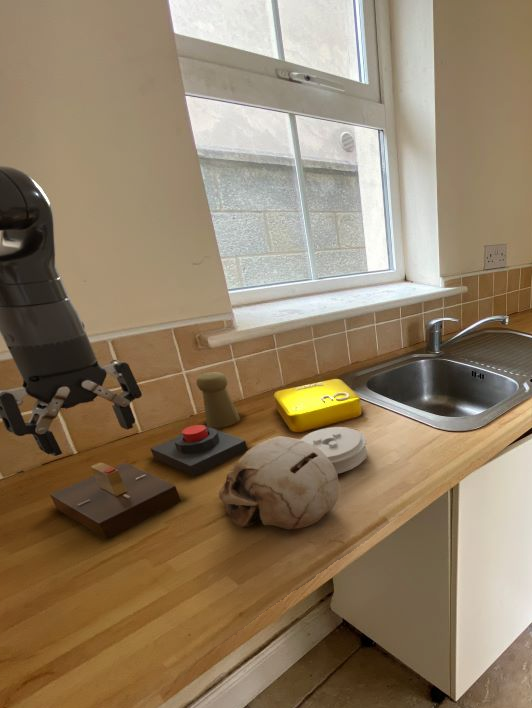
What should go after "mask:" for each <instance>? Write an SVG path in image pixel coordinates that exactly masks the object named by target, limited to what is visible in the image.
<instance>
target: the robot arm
mask: <svg viewBox="0 0 532 708" xmlns="http://www.w3.org/2000/svg"><path fill="white" fill-rule="evenodd" d="M54 219H55V218H54V212H53V207H52V204H51V202H50V200H49V197H48V195H47V194H46V193H45V191H44V190H43V188H42V187H41V186H40V185H39V184H38V182H37V181H35V180H34V179H33V177H31V176H30V175H28V174H26V173H25V172H24V171H22V170H20V169H17V168H15V167H11V166H5V165H0V235H1V236H0V335H1V337H2V339H3V341H4V343H5V346H6V347H7V349H8V351H9V353H10V355H11V357H12V359H13V361H14V364H15V365H16V368H17V370H18V372H19V373H20V376H21V378H22V385H21V386H20V387H15V388H11V389H6V390H4V389H0V418H1V420H2V423H3V425H4V427H5V429H6V431H8V432H9V433H12V434H14V435H15V436H17V437H23V436H26V435H32V437H33V438H34V441H35V442H36V444H37V446H38V448H39V450H40V451H42V452H43V453H45V454H47V455H51V456H54V457H59V456H60V455H63V452H62V449H61V447H60V445H59V443H58V441H57V439H56V437H55V435H54V434H53V433H54V432H53V431H51V430H50V427H51V425H52V423H53V421H54V419H56V418H57V417H58V415H59V413H60V411H61V409H65V410H67V409H71V408H74V407H76V406H78V405H79V404H87V403H88V404H89V403H91V402H93V401H95V399H96V398H97V397H100V398H102V399H104V400H106V401H108V402H111V403H113V405H112V407H111V408H112V410H113V411H114V414H115V417H116V419H117V422H118V424H119V426H120V427H121V428H122V429H124V430H127V431H128V430H130V429H133V428H134V426H133V425H134V424H135V423H136V418H135V416H134V413H133V410H132V408H131V403H132V402H133V401H134V400H136V399H140V398H141V397H142V395H143V392H142V391H141V389H140V387H139V384H138V382H137V380H136V378H135V376H134V374H133V372H132V369H131V367H130V364H129V363H127V362H124V361H122V360H118V359H111V361H110V362H109V363H108V364H105V365H100V364H99V361H98V359H97V356H96V354H95V351H94V349H93V347H92V344H91V341H90V339H89V337H88V334H87V332H86V330H85V323H84V322H83V321H82V319H81V317H80V315H79V313H78V311H77V309H76V307H75V306H74V304H73V303H72V301H71V299H70V296H69V294H68V292H67V289H66V287H65V284H64V282H63V280H62V277H61V275H60V272H59V271H58V268H57V261H56V242H55V220H54ZM107 374H109V376H111V377H113V378H116V380H117V382H118V384H119V386H120V388H121V390H122V392H121V393H116V392H114V391H113V390H110V389H108V388H106V387H104V386H103V384H104V383H105V380H106V378H107ZM26 396H28V397H29V396H30V397H31V398H34V399H36V401H35V403H34V405H33V407H32V409H31V412H32V414H31V416H30V417H29V419H28V421H27V422H25V420H24V417H23V415H22V412H21V410H20V408H19V406H21V405H23V403H24V397H26Z"/></svg>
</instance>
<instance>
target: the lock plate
mask: <svg viewBox="0 0 532 708" xmlns="http://www.w3.org/2000/svg"><path fill="white" fill-rule="evenodd" d="M113 468H114V469H116V470H118V472H119V474H120V476H121V479H122V481H123V483H124V486H125V488H126V490H127V492H125V493H122V494H120V495H118V496H115V495H113V494H111V493H110V492H108V491H106V490H104V489H102V488H100V486H99V484H98V482H97V479H96V477H95V475H94V474H93V475H92V476H89V477H87V478H85V479H83V480H80V481H77V482H75V483H73V484H70V485H68V486H66V487H64V488H61V489H59V490H56V491H53V492H52V493H49V498H51V500H52V503H54V504H53V505H54V506H55V508H56V510H58V511H59V512H61V513H62V514H64V515H66V516H67V517H69V518H71V520H74V521H76V522H77V523H79V524H81V525H83V526H84V527H86V528H87V529H89V530H90V531H93V532H94V533H96V534H97V535H99V536H101V538H102V537H103V538H104V539H105V540H109V539H111V538H112V537H114V536H117V535H118V534H120V533H122V532H124V531H126V530H128V529H129V528H132V527H134V526H135V525H137V524H140V523H141V522H142V521H145V520H146V519H148V518H151V517H153V516H154V515H156V514H158V513H160V512H162V511H164V510H166V509H168V508H170V507H172V506H174V505H175V504H178V503H179V502H181V497H180V494H179V491H178V489H177V486H176V485H175V484H173V483H170V482H168V481H166V480H164V479H162V478H160V477H158V476H156V475H153V474H151V473H149V472H147V471H145V470H143V469H141V468H139V467H136V466H134V465H132V464H130V463H128V462H123V463H121V464H119V465H117V466H114V467H113Z"/></svg>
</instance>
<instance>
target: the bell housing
mask: <svg viewBox="0 0 532 708" xmlns="http://www.w3.org/2000/svg"><path fill="white" fill-rule="evenodd" d="M204 426H205V427H206V429H207V433H208V436H207V437H206V438H204V439H202V440H198V441H193V442H186V441H185V439H184V437H183V434H182V432H181V433H180V434H179V435H177V436H176V437H174V438H172V439H169V440H167V441H165V442H162V443H160V444H157V445H155V446H152V447H150V451H151V455H152V456H153V459H155V460H157V461H160V462H161V463H164V464H166V465H167V466H170V467H173V468H176V469H177V470H179V471H181V472H184V473H186V474H188V475H191V476H193V477H196V476H198V475H200V474H202V473H204V472H205V471H208V470H210V469H212V468H215V467H217V466H218V465H220V464H222V463H224V462H226V461H229V460H230V459H232V458H235V457H237V456H238V455H241V454H242V453H246V452H247V451H248V450H249V449H248V445H247V442H246V440H245V439H243V438H240V437H238V436H234V435H232V434H229V433H227V432H224V431H222V430H219V429H217V428H211V427H208V426H207V425H204Z"/></svg>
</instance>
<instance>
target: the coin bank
mask: <svg viewBox="0 0 532 708" xmlns="http://www.w3.org/2000/svg"><path fill="white" fill-rule="evenodd" d="M339 485H340V484H339V476H338V474H337V472H336V470H335V468H334V466H333V464H332V462H331V461H330V460H329V459H328V458H327V456H326V455H325V454H324V453H323V452H322V451H321V450H320V449H318V448H317V447H315V446H313V445H310V444H308V443H306V442H303V441H301V439H298V438H293V437H288V436H283V435H279V436H278V435H277V436H274V437H270V438H269V439H266V440H263V441H261V442H259V443H257V444H255V445H253V446H252V447H251V448H250V449H248V450H247V451H245V452H244V454H243V455H242V456H241V457H240V458H239V459H238V461H237V462H236V463H235V464H234V466H233V467H232V468H231V469H230V470H229V471H228V472H227V474H226V478H225V482H224V484H223V485H222V486H221V488H220V489H219V491H218V498H219V500H220V501H221V502H222V503H223V504H226V508H225V509H226V512H227V513H228V516H229V519H231V520H232V521H233V522H234V523H235V525H237V526H239V527H240V528H247V527H251V526H252V525H253V524H256V523H257V522H259V521H261V523H262V524H263V525H264V526H276V527H279V528H281V529H285V530H286V531H293V530H298V529H303V528H305V527H306V528H307V527H309V526H313V525H315V524H316V523H317V522H319V521H320V520H321V519H322V518H323V517H324V516H326V515H327V514H328V512H329V511H330V510H332V509H333V508H334V506H335V505H336V503H337V502H338V499H339V495H340V494H339V493H340V486H339Z"/></svg>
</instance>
